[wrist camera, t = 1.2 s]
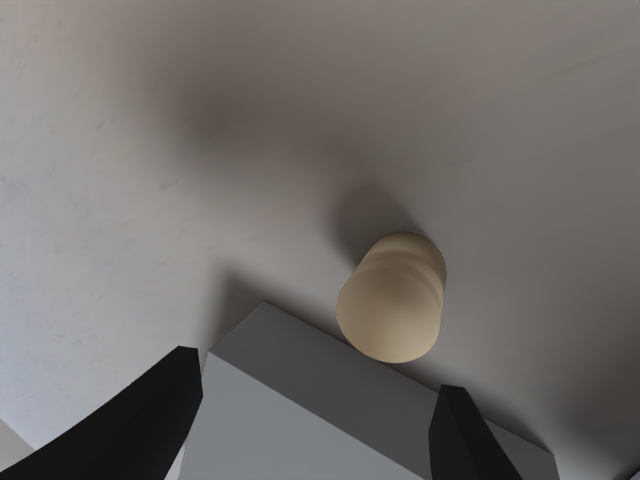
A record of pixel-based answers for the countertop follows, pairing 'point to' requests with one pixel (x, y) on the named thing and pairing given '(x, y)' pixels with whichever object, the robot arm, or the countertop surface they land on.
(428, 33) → the countertop surface
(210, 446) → the socket block
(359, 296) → the peg
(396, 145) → the countertop surface
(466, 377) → the countertop surface
